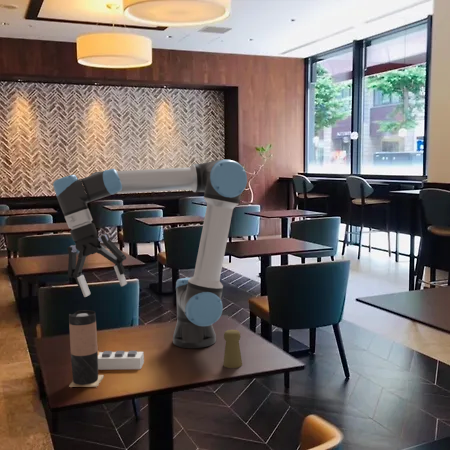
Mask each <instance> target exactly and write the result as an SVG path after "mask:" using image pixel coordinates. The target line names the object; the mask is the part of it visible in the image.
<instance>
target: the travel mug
mask: <svg viewBox="0 0 450 450" xmlns="http://www.w3.org/2000/svg"><path fill="white" fill-rule="evenodd" d="M68 322H69V323H68V324H69V327H68V328H69V345H70V359H71V361H70V362H71V372H72V373H71V374H72V381H73V382H74V383H75V384H79V385H86V384H91V383H94V382H96V381H97V380H98V375H99V370H98V351H99V350H98V348H99V347H98V334H97V330H98V329H97V316H96V311H94V310H90V309H89V310H87V309H84V310H83V309H82V310H77V311H75V312H74V313H72V314H71V313H69V314H68Z"/></svg>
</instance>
